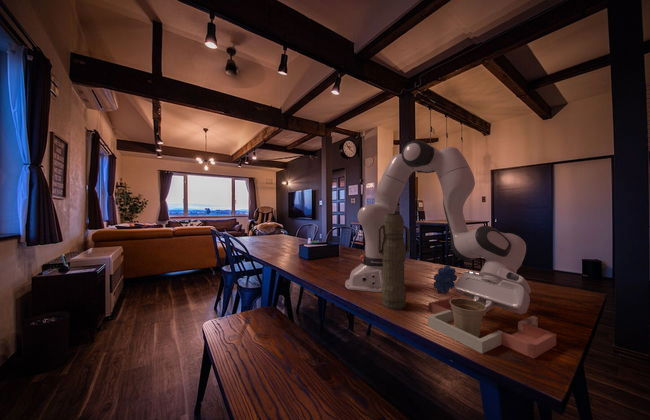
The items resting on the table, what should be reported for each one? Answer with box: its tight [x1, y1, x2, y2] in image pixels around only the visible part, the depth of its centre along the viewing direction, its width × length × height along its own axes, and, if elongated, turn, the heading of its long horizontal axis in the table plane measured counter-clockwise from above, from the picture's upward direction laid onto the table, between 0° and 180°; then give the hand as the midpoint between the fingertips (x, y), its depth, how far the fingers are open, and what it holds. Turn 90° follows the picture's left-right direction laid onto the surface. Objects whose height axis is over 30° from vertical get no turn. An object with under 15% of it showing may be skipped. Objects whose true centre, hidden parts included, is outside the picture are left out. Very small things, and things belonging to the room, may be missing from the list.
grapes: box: [432, 264, 458, 294], centre depth 105 cm, size 12×7×12 cm, turn 104°
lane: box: [481, 302, 539, 333], centre depth 79 cm, size 9×16×3 cm, turn 27°
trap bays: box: [428, 296, 557, 360], centre depth 75 cm, size 12×30×3 cm, turn 27°
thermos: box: [377, 213, 410, 310], centre depth 91 cm, size 9×12×35 cm
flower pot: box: [449, 297, 486, 338], centre depth 70 cm, size 9×9×9 cm
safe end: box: [427, 310, 504, 354], centre depth 70 cm, size 10×16×3 cm, turn 27°
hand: (478, 313), depth 73 cm, fingers closed
